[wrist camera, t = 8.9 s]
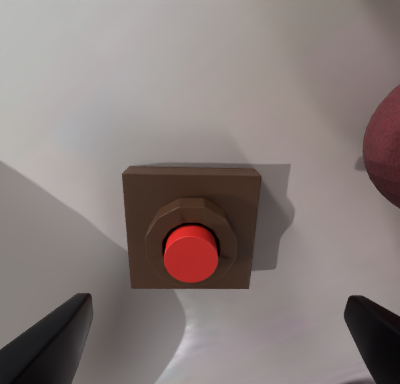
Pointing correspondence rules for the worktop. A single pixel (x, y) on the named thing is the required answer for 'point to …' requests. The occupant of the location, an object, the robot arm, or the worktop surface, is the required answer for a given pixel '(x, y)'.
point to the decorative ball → (384, 147)
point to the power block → (190, 221)
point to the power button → (191, 253)
